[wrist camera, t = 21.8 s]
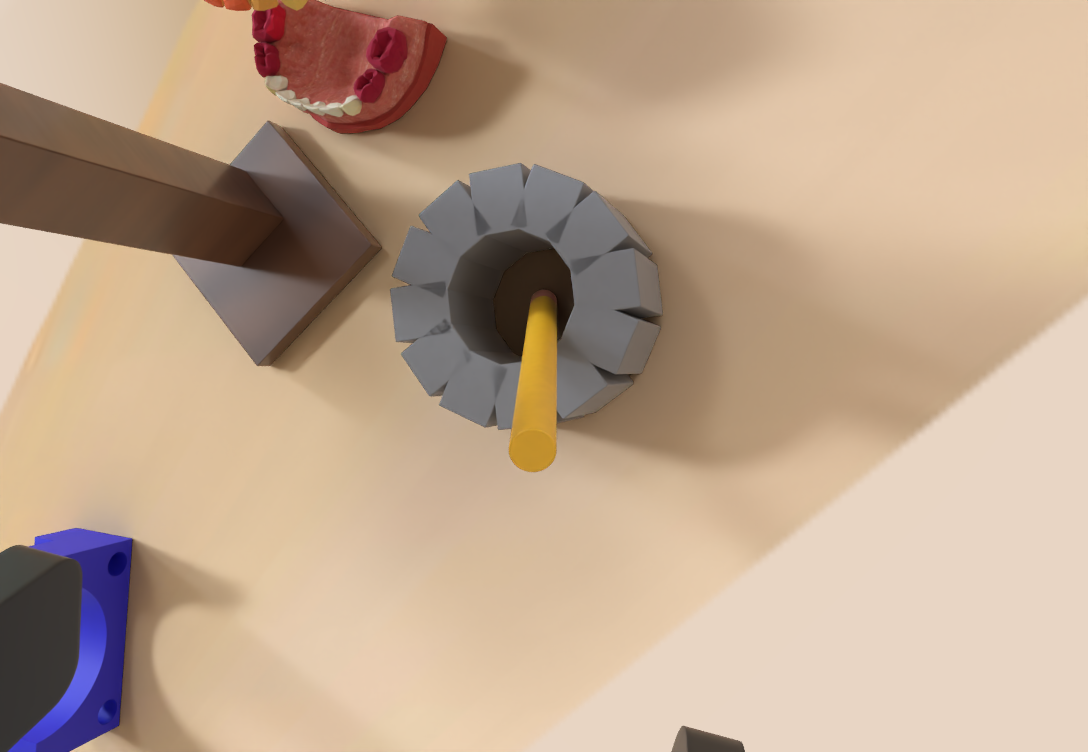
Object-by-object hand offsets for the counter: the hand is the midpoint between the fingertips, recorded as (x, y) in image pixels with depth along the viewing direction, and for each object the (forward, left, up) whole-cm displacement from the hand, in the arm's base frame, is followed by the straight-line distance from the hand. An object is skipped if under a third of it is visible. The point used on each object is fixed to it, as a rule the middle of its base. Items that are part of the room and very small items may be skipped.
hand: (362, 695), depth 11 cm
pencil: (-2, -6, -23) cm, 24 cm away
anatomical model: (-14, -26, -32) cm, 43 cm away
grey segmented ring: (-4, -10, -32) cm, 34 cm away
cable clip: (+26, -30, -32) cm, 51 cm away
